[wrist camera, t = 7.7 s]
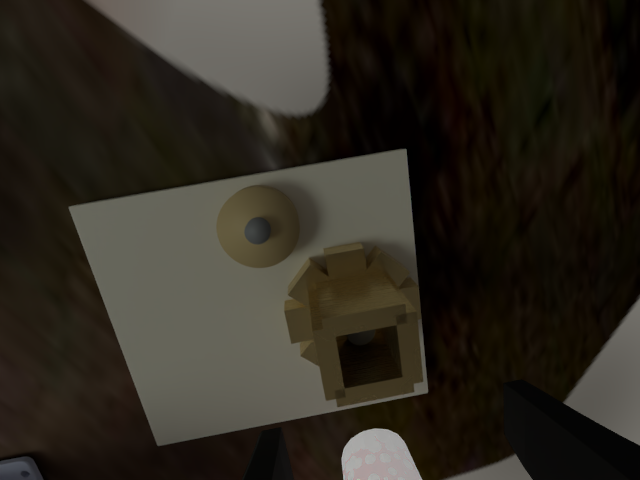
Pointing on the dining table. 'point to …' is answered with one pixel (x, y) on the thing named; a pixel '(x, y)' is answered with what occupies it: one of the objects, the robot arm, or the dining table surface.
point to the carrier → (236, 285)
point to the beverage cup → (378, 457)
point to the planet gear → (357, 323)
